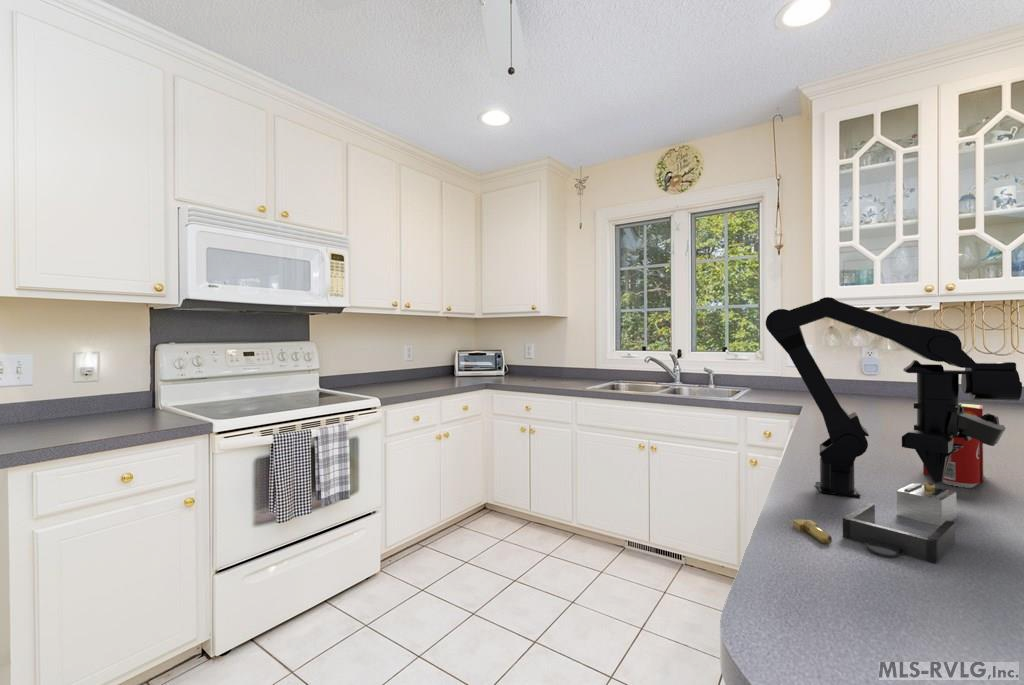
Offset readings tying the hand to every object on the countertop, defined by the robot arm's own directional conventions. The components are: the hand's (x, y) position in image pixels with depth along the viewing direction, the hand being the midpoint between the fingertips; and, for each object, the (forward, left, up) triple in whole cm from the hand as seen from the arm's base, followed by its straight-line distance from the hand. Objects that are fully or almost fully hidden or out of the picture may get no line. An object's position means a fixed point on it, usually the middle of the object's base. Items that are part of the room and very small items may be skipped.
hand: (937, 482), depth 86 cm
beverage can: (-17, +9, -4) cm, 19 cm away
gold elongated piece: (+24, -23, -4) cm, 34 cm away
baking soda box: (-25, +11, -4) cm, 27 cm away
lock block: (+8, -4, -4) cm, 10 cm away
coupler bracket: (+22, -13, -4) cm, 26 cm away
